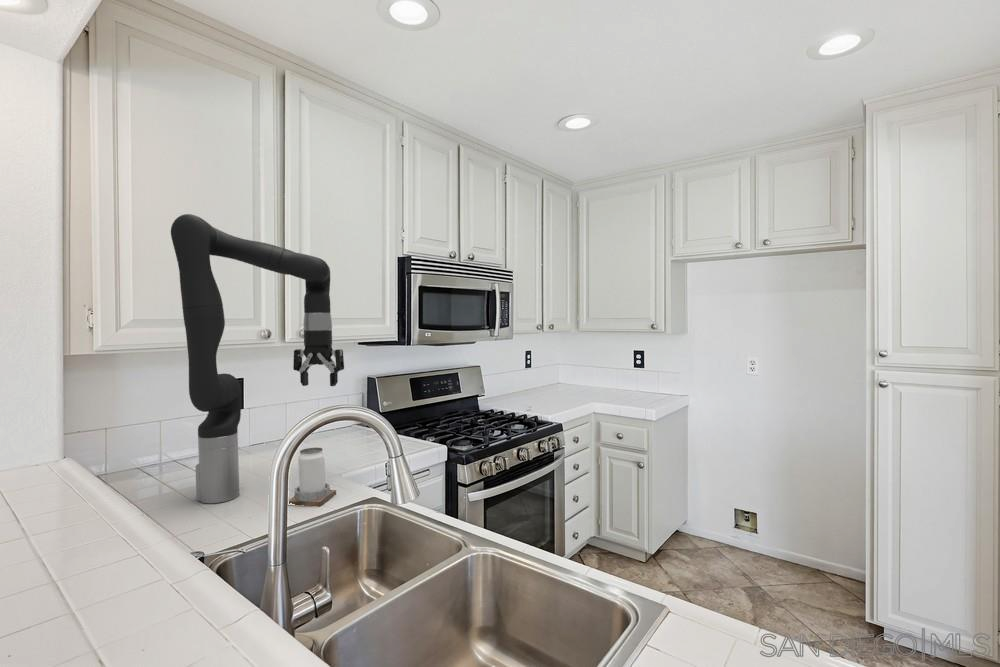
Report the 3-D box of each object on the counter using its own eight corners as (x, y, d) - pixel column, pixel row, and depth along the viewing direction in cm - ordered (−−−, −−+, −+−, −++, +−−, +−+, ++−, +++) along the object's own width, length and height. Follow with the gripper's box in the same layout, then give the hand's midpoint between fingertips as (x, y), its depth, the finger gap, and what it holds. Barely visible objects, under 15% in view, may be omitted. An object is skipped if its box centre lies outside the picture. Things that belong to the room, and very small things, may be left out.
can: (316, 500, 125) (315, 454, 125) (294, 498, 126) (292, 453, 126) (330, 491, 131) (329, 447, 131) (309, 490, 133) (307, 446, 132)
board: (287, 505, 125) (287, 500, 125) (305, 493, 134) (305, 488, 134) (319, 506, 124) (319, 502, 124) (336, 494, 133) (335, 489, 133)
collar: (288, 500, 125) (288, 493, 125) (305, 489, 134) (305, 481, 134) (319, 501, 124) (319, 494, 124) (335, 490, 133) (335, 482, 132)
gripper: (287, 329, 136) (288, 387, 136) (334, 329, 134) (336, 387, 134) (302, 328, 143) (303, 383, 144) (347, 328, 141) (348, 384, 142)
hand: (319, 385), depth 139 cm, fingers open, 8 cm apart
